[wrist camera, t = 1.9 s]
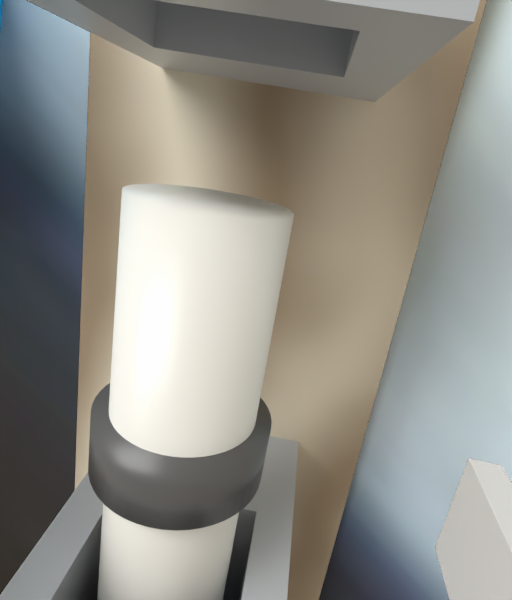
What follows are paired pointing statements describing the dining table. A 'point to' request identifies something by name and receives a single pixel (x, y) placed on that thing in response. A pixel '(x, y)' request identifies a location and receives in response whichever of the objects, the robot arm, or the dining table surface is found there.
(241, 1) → the socket
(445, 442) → the dining table surface
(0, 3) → the mug
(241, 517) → the sleeve
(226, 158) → the mount board
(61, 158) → the dining table surface
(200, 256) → the tube
